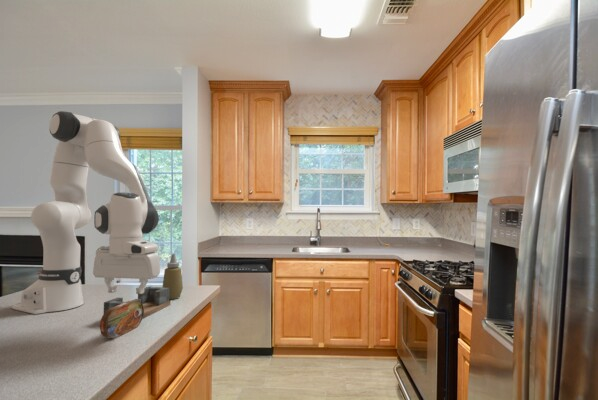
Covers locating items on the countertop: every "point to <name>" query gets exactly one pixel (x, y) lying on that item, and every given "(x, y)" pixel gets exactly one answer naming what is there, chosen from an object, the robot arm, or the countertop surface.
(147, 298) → the stand
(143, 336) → the countertop surface
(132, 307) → the tin
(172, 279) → the squeeze bottle
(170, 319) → the countertop surface
